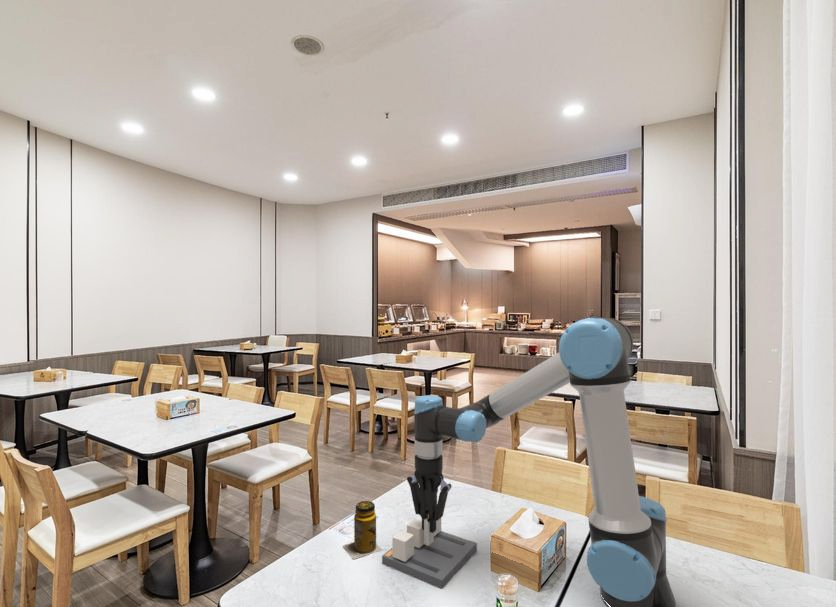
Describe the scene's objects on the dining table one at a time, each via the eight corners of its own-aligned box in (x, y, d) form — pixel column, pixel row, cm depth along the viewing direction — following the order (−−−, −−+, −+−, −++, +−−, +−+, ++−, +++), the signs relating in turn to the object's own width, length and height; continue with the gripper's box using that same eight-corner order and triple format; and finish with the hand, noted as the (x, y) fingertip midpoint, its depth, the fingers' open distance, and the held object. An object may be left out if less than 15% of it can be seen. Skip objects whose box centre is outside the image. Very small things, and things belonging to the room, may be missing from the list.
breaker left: (414, 554, 110) (414, 534, 110) (405, 561, 107) (405, 541, 107) (401, 549, 112) (401, 530, 112) (392, 556, 109) (392, 537, 109)
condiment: (381, 549, 117) (381, 506, 117) (353, 560, 112) (353, 514, 112) (369, 537, 123) (369, 496, 123) (342, 547, 118) (342, 503, 118)
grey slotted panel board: (476, 550, 116) (476, 542, 116) (441, 588, 100) (441, 580, 100) (421, 531, 126) (421, 524, 126) (382, 563, 110) (382, 555, 110)
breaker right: (441, 530, 122) (441, 512, 122) (434, 536, 119) (434, 518, 119) (429, 526, 124) (429, 509, 124) (422, 532, 121) (422, 514, 121)
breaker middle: (427, 541, 116) (427, 522, 116) (419, 548, 113) (419, 529, 113) (415, 536, 118) (415, 518, 118) (406, 543, 115) (406, 525, 115)
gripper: (456, 454, 113) (457, 543, 113) (416, 446, 120) (416, 529, 120) (442, 463, 107) (442, 557, 107) (400, 454, 114) (401, 541, 114)
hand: (429, 542), depth 114 cm, fingers closed
